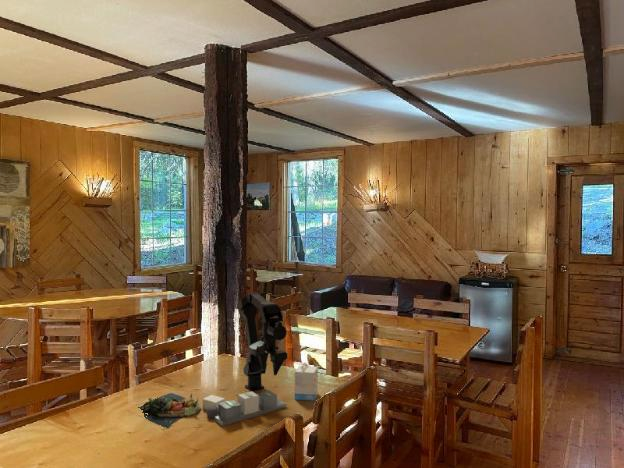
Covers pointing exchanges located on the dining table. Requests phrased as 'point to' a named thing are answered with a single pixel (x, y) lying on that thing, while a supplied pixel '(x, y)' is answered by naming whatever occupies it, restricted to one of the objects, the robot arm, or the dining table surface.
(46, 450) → the dining table surface
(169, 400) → the plated dish
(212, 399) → the block
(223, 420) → the rail
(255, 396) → the loose module
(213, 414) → the black knob
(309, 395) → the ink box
